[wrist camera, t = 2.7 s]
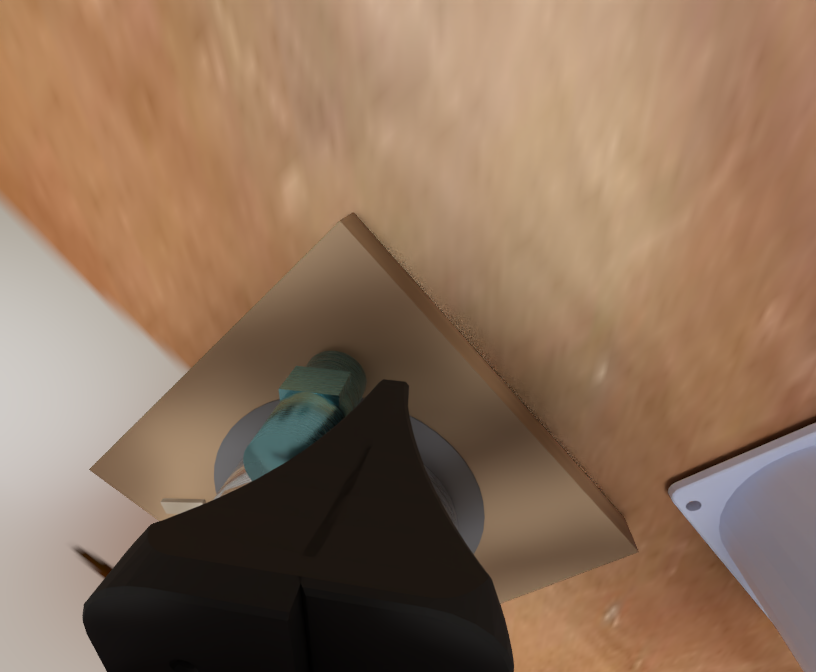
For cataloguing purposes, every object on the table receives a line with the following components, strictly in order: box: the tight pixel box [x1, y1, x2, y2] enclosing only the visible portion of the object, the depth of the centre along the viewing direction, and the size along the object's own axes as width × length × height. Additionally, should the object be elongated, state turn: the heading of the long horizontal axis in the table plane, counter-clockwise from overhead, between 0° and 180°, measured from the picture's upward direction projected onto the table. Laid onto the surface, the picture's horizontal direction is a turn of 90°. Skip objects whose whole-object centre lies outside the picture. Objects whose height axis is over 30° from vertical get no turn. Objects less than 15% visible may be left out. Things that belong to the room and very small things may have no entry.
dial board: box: [89, 213, 639, 604], centre depth 17 cm, size 16×16×2 cm
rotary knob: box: [213, 351, 458, 530], centre depth 13 cm, size 12×9×4 cm
